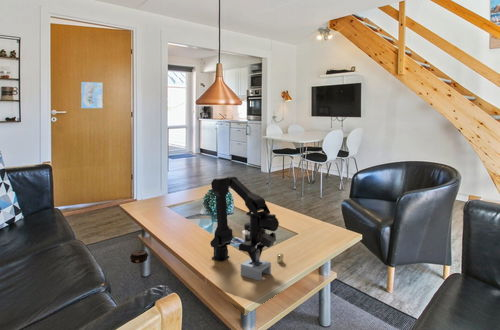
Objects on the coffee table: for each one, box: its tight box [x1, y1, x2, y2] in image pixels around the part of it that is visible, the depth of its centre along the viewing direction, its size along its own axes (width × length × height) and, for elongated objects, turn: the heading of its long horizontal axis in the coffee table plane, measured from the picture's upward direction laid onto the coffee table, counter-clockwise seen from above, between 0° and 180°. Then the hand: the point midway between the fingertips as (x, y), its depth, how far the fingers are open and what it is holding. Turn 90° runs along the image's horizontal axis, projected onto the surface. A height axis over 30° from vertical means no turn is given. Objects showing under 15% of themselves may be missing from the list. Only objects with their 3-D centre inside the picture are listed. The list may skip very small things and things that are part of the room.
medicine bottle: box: [241, 222, 250, 242], centre depth 173 cm, size 7×7×12 cm
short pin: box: [276, 253, 284, 264], centre depth 145 cm, size 3×3×4 cm
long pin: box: [253, 247, 261, 266], centre depth 133 cm, size 3×3×9 cm
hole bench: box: [240, 258, 272, 282], centre depth 133 cm, size 10×9×5 cm
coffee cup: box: [129, 249, 149, 264], centre depth 149 cm, size 9×8×13 cm
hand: (255, 261), depth 133 cm, fingers closed on long pin, 3 cm apart
